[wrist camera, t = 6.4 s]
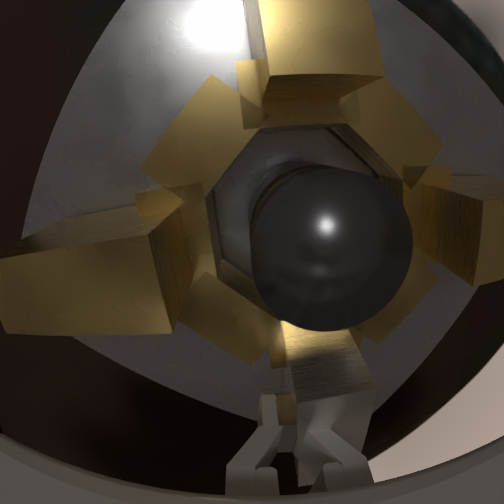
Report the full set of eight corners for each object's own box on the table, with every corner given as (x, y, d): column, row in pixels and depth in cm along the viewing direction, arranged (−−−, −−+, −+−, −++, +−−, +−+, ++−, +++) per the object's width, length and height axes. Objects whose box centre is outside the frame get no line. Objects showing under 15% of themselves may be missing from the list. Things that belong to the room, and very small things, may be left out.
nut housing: (333, 421, 18) (356, 501, 12) (32, 281, 14) (-41, 342, 8) (517, 156, 12) (599, 175, 6) (209, -63, 8) (194, -146, 2)
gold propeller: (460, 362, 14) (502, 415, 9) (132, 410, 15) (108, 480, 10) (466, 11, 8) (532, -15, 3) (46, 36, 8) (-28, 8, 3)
